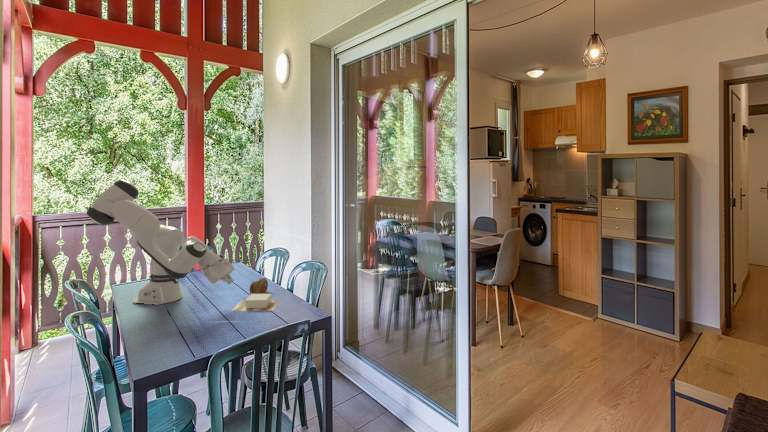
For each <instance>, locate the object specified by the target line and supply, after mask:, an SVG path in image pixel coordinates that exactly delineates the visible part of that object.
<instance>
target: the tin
mask: <svg viewBox="0 0 768 432" xmlns="http://www.w3.org/2000/svg"><path fill="white" fill-rule="evenodd" d="M268 286H269V282H268V280H267V279H266V278H265V277H262V278H261V277H260V278H258V279H257V280H255V281H253V282H251V284H250V285H249V293H250V294H249V296H250V295H251V294H266V292H267V291H268Z"/></svg>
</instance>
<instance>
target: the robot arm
mask: <svg viewBox="0 0 768 432" xmlns="http://www.w3.org/2000/svg"><path fill="white" fill-rule="evenodd" d="M139 195H140V194H139V189H138V188H137V186H136V185H135V184H134V183H132V182H131V181H128V180H125V179H118V180H116V181H115V182H114V183H113V184H112V185H111V186H109V187H108V188H106V190H104V191H103V192H102V193H101V195H99V197H97V198H96V200H95V201H94V202H93V203H92V205H90V206H89V207H88V209H87V210H86V215H87V216H88V217H89V219H90V220H91V221H92V222H93V223H95V224H96V225H97V224H98V225H100V226H101V225H102V226H109V225H111V224H116V222H115V220H116V221H117V222H118V223H120V224H121V225H122V226H124V228H126V230H129V231H130V232H132V234H134V236H135V237H136V239H137V242H136V243H137V245H138V247H139V248H140V249H141V250H142V251H144V252H145V254H147V255H148V256H149V257H150V258H151V259H152V269H153V273H152V274H150V275H149V276H148V279H150V281H148V282H147V283H146V284H144V285H143V286H141V288H140V289H139V290H138V293H137V297H136V298H134V299H133V300H132V304H136V303H144V304H143V305H152V304H154V305H155V306H157V305H159V306H160V305H163V304H168V303H172V302H177V301H178V300H181V299H183V293H182V291H181V285H180V279H181V280H182V279H184V278H186V276H188V274H189V273H190V272H191V271H192V269H194V267H196V265H197V264H198V266H199V267H200V268H201V269H202V273H203V275H204V276H205V277H206V279H207V280H208V281H209V282H210V283H211V284H213V285H215V284H217V283H218V282H219V281H220V280H221V281H223V282H225V283H227V284H228V285H231V284H232V283H233V282H234V278H232V276H231V273H232V272H234V270H235V267H234V265H233V264H232V263H231V262H230V261H229V260H227V259H226V257H225V256H224V254H218V253H217V254H216V253H215V252H214V251H212V250H211V249H210V248H209V246H207V244H205V243H204V242H203V241H202V240H201V239H200V238H198V237H196V236H195V235H191V236H189V237H187V238H185V233H184V232H183V230H180V229H179V228H177V227H176V226H170V225H164V224H162V223H161V222H160V220H159V218H158V216H156V215H155V213H152V212H151V211H150V210H149V209H147V208H145V207H143V206H142V205H140V204H139V203H137V202H136V201H135V200H137V198H138V196H139ZM180 248H181V249H180Z"/></svg>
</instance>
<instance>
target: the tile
mask: <svg viewBox="0 0 768 432" xmlns="http://www.w3.org/2000/svg"><path fill="white" fill-rule="evenodd" d="M272 300H273V299H272V293H262V294H251V295H250V294H249V295H248V297H246V298H245V300H244V301H245V305H246V308H267V307H268V305H269V304H270V303H271V301H272Z"/></svg>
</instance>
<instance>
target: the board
mask: <svg viewBox="0 0 768 432" xmlns="http://www.w3.org/2000/svg"><path fill="white" fill-rule="evenodd" d="M280 301H281V300H280V299H279V300H277V299H274V300H273V299H272V301H271V303H270V304H269V305H268V307H267V308H246V305H245V300H239V302H238V303H237V304H236V305H235V306H234V307H233V308H232V309H231V310H230V311H231V312H256V311H257V312H264V311H265V312H269V311H270V312H271V311H272V312H273V311H274V310H275V308H276V307H277V305H278V304H279V303H280Z"/></svg>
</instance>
